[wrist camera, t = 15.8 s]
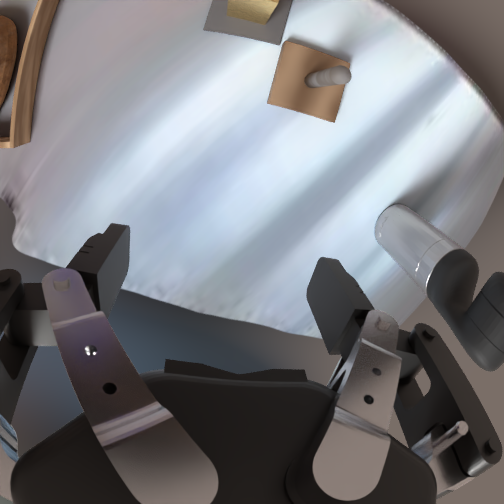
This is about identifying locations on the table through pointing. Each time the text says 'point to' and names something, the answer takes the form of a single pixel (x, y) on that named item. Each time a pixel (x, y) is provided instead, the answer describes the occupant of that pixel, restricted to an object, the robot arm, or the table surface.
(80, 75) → the table surface
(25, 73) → the bread tray
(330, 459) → the robot arm
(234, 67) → the table surface
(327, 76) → the peg stand
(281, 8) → the mat
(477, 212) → the table surface
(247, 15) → the sleeve
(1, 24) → the bread
